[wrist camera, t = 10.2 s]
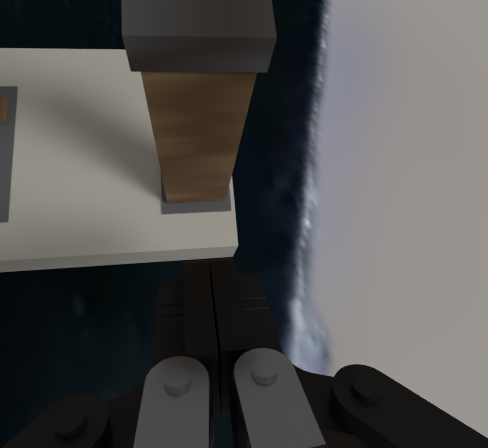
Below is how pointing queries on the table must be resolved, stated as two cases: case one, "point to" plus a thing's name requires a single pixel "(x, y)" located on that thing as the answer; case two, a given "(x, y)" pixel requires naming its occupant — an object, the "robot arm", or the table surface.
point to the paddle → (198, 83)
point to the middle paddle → (3, 110)
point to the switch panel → (90, 169)
